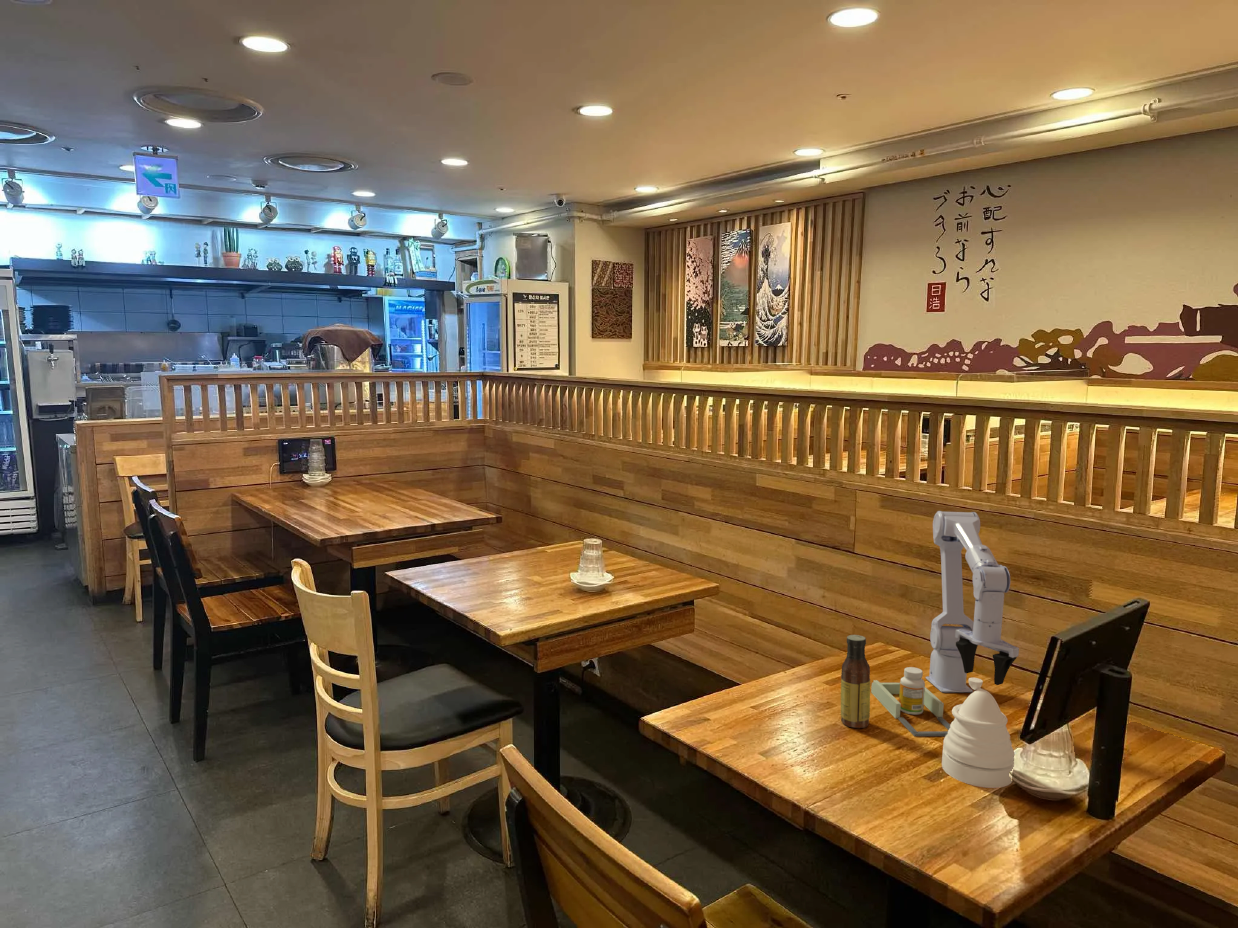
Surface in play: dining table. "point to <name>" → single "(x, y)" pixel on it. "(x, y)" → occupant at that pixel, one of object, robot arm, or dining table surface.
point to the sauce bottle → (855, 684)
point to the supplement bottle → (912, 691)
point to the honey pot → (978, 742)
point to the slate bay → (926, 733)
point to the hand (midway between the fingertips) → (983, 677)
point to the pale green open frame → (893, 706)
